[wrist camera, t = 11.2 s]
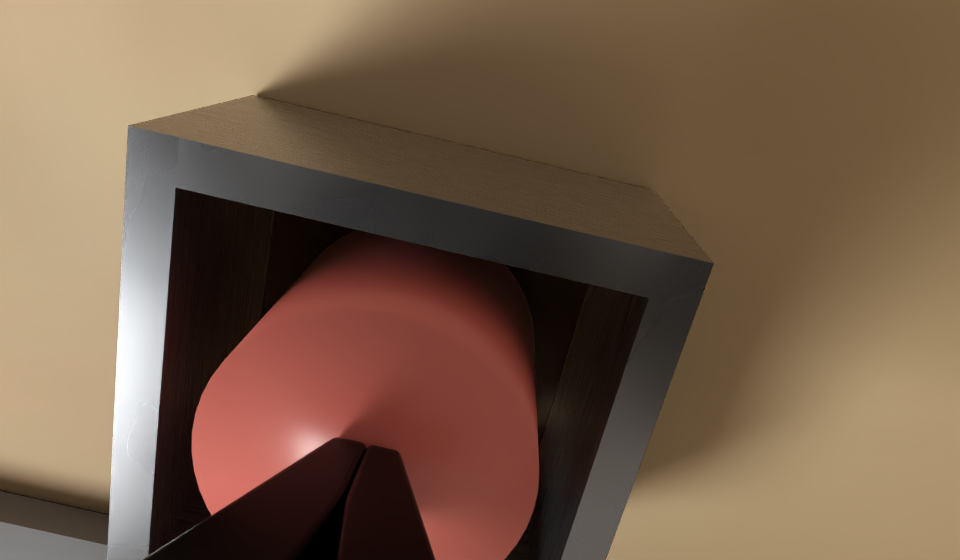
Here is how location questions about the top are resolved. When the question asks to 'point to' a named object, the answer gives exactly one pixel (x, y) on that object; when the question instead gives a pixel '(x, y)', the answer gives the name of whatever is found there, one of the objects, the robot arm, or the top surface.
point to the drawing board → (50, 531)
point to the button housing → (400, 215)
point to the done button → (389, 387)
